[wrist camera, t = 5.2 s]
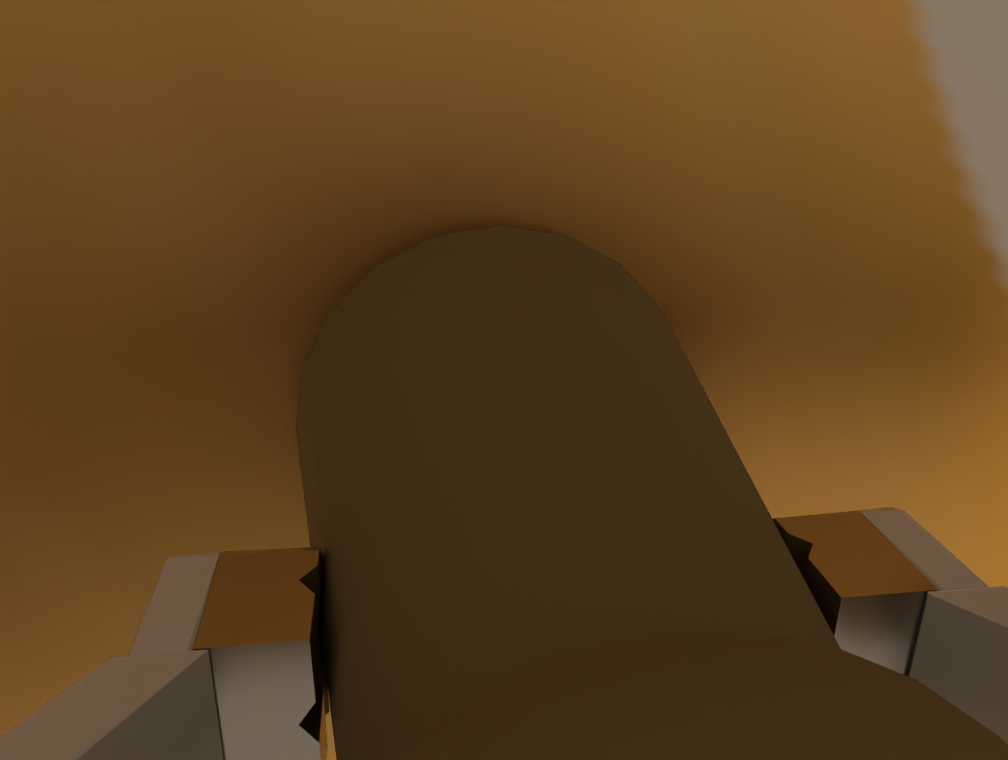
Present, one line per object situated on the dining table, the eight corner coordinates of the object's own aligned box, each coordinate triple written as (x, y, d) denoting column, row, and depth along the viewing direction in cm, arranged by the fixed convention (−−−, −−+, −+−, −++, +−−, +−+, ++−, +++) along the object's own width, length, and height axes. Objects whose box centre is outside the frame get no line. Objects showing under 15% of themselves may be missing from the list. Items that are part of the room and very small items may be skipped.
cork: (217, 470, 13) (-302, 1942, 3) (452, 137, 12) (926, 776, 2) (530, 641, 15) (845, 1874, 5) (762, 371, 14) (1827, 1311, 4)
